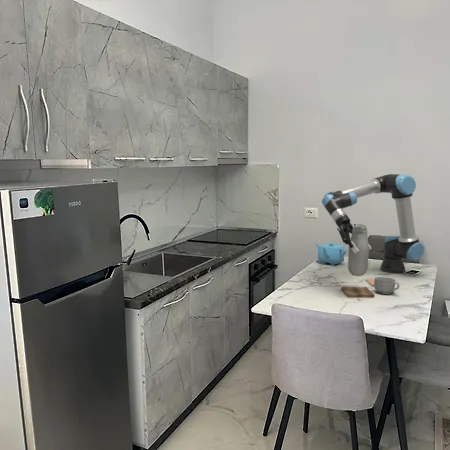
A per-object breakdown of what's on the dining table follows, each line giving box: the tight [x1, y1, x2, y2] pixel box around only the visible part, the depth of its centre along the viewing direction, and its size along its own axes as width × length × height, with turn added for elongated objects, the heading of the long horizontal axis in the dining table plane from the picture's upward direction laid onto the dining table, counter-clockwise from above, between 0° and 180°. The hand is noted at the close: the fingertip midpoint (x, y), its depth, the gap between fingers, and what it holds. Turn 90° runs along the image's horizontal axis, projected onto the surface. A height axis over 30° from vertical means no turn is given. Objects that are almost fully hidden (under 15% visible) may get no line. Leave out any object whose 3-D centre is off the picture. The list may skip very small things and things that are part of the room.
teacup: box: [374, 276, 401, 295], centre depth 224 cm, size 14×11×8 cm
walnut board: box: [340, 286, 375, 299], centre depth 224 cm, size 14×14×2 cm
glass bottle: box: [347, 223, 370, 277], centre depth 221 cm, size 10×10×28 cm
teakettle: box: [314, 242, 347, 267], centre depth 292 cm, size 19×19×15 cm
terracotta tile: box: [365, 278, 375, 288], centre depth 242 cm, size 12×12×1 cm
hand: (363, 251), depth 218 cm, fingers closed on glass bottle, 10 cm apart
